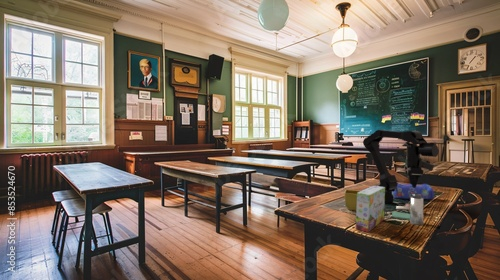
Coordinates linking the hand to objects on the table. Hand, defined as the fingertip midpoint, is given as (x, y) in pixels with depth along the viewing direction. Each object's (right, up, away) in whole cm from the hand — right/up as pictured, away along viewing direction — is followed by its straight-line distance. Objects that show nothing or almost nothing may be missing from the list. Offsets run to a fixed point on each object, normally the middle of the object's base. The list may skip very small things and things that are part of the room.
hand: (413, 186), depth 125 cm
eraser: (+2, -12, +4) cm, 13 cm away
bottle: (-11, -13, -19) cm, 25 cm away
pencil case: (+14, -12, +23) cm, 30 cm away
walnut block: (-2, -12, -5) cm, 13 cm away
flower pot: (-30, -12, +1) cm, 32 cm away
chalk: (-4, -12, +1) cm, 13 cm away
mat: (-12, -12, -10) cm, 20 cm away
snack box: (-32, -13, -20) cm, 39 cm away
